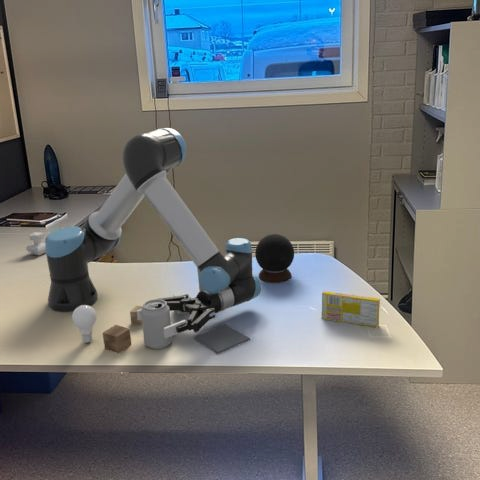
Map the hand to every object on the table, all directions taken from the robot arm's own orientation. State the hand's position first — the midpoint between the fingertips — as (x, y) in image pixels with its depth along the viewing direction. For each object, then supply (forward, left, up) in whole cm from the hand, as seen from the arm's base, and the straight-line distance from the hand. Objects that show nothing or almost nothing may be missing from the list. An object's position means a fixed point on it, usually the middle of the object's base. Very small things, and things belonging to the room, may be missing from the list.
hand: (150, 324), depth 149 cm
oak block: (-15, +5, -7) cm, 17 cm away
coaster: (+10, +16, -7) cm, 20 cm away
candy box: (+27, +49, -7) cm, 56 cm away
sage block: (-12, +18, -7) cm, 23 cm away
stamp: (-95, +4, -7) cm, 95 cm away
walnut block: (-6, -7, -7) cm, 12 cm away
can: (0, +2, -7) cm, 7 cm away
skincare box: (-14, +30, -7) cm, 34 cm away
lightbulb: (-14, -12, -7) cm, 20 cm away
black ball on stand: (-12, +56, -7) cm, 58 cm away
